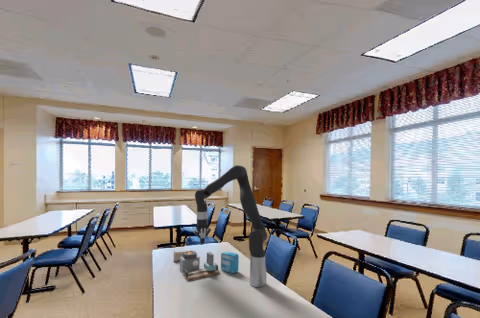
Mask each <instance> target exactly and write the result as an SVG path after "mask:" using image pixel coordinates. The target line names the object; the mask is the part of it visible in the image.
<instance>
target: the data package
mask: <svg viewBox="0 0 480 318" xmlns="http://www.w3.org/2000/svg"><path fill="white" fill-rule="evenodd" d="M239 257H240V256H239V254H238V253H237V252H231V251H228V250H225V251H223V252H222V253H221V254H220V270H221V271H224V272H227V273H230V274H235V273H238V272H239V263H240V262H239Z"/></svg>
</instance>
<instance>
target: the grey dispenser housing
mask: <svg viewBox="0 0 480 318" xmlns="http://www.w3.org/2000/svg"><path fill="white" fill-rule="evenodd" d="M184 251H185V252H184V253H183V257H180V260H179V270H180V271H181V273H184V269H186V270H187V271H188V272H189V271H193V270H198V269H200V264H201V263H200V262H201V260H200V259H201V257H200V256H199V255H198V253H197V252H196V251H195V250H188V251H186V250H184ZM188 252H192V254H187V253H188Z"/></svg>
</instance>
